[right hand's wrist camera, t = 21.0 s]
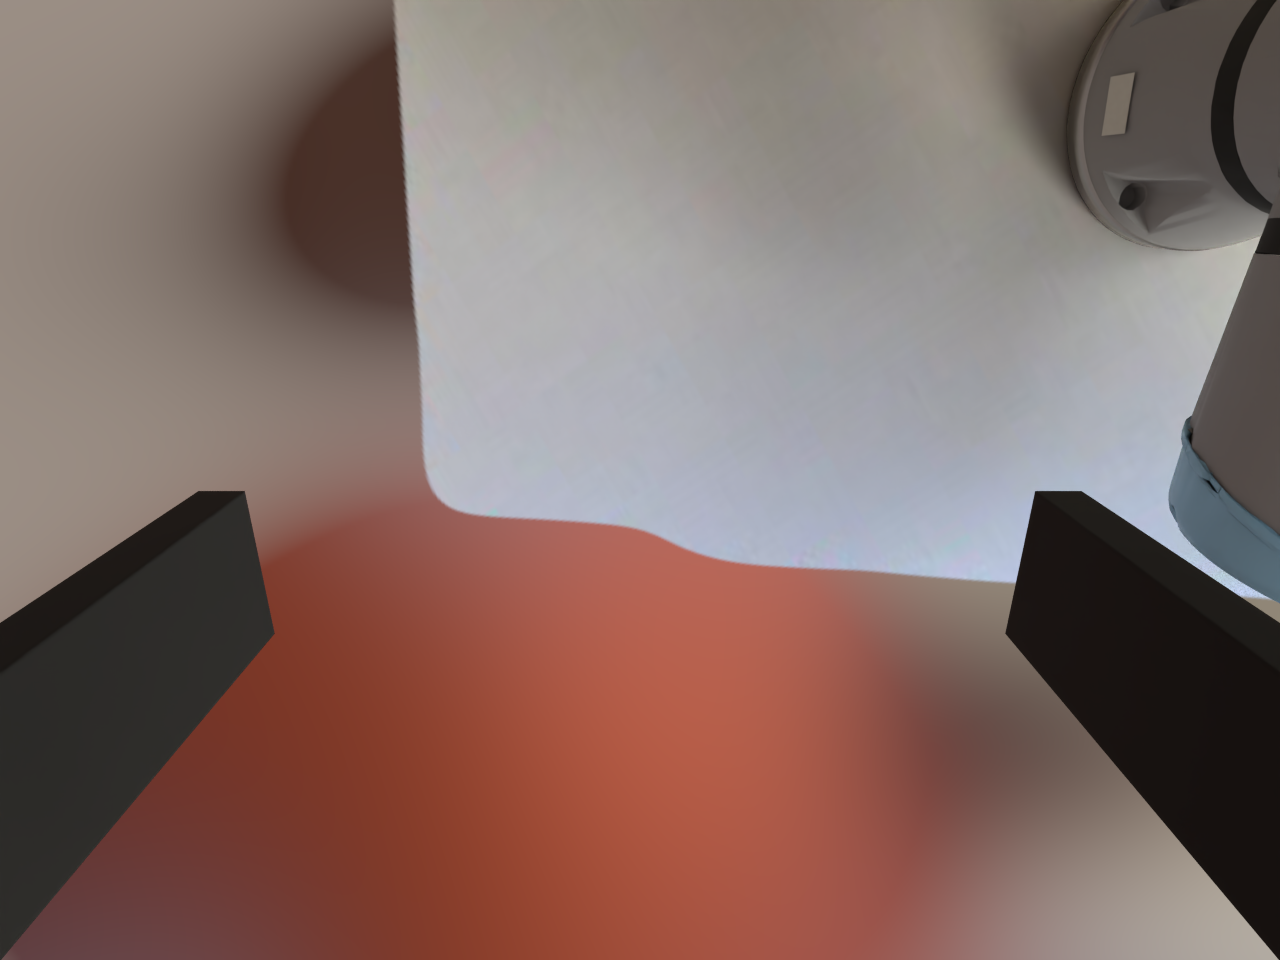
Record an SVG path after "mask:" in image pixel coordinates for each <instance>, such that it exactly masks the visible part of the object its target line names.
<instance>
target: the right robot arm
mask: <svg viewBox="0 0 1280 960" xmlns="http://www.w3.org/2000/svg"><path fill="white" fill-rule="evenodd" d="M1067 147H1068V156H1069V163H1070V167H1071V171H1072V175H1073V178H1074V181H1075V184H1076V186H1077V189H1078V191H1079V193H1080V195H1081V197H1082V199H1083V201H1084V202H1085V203H1086V205H1087V206H1088V208H1089V209H1090V211H1091V212H1092V213H1093V214H1094V215H1095V217H1096V218H1097V219H1098V220H1099V221H1100V222H1101V223H1102V224H1104V225H1105V226H1106V227H1107V228H1108V229H1110V230H1111V231H1113V232H1114V233H1116V234H1117V235H1119V236H1121V237H1123V238H1125V239H1127V240H1129V241H1132V242H1134V243H1137V244H1140V245H1144V246H1148V247H1153V248H1161V249H1170V250H1183V251H1197V250H1208V249H1214V248H1220V247H1224V246H1229V245H1233V244H1237V243H1241V242H1244V241H1247V240H1250V239H1253V238H1256V237H1259V236H1261V238H1260V241H1259V244H1258V246H1257V249H1256V251H1255V253H1254V255H1253V258H1252V260H1251V263H1250V265H1249V268H1248V271H1247V273H1246V276H1245V278H1244V281H1243V284H1242V286H1241V289H1240V291H1239V294H1238V297H1237V299H1236V302H1235V305H1234V307H1233V310H1232V312H1231V315H1230V318H1229V320H1228V323H1227V325H1226V328H1225V331H1224V333H1223V336H1222V338H1221V341H1220V344H1219V346H1218V349H1217V352H1216V354H1215V357H1214V359H1213V362H1212V365H1211V367H1210V370H1209V372H1208V375H1207V378H1206V380H1205V383H1204V385H1203V388H1202V391H1201V393H1200V396H1199V399H1198V401H1197V404H1196V406H1195V409H1194V412H1193V414H1192V416H1190V417H1189V418H1188V419H1186V421H1185V424H1184V426H1183V429H1182V436H1181V440H1182V445H1183V447H1182V450H1181V453H1180V456H1179V459H1178V463H1177V466H1176V469H1175V472H1174V476H1173V479H1172V482H1171V485H1170V489H1169V507H1170V511H1171V513H1172V515H1173V517H1174V519H1175V520H1176V522H1177V523H1178V527H1179V529H1180V531H1181V532H1182V534H1183V535H1184V536H1185V537H1186V539H1187V540H1188V541H1189V542H1190V543H1191V544H1192V545H1193V546H1194V547H1195V548H1196V549H1197V550H1198V551H1199V552H1200V553H1202V554H1203V555H1204V556H1205V557H1206V558H1207V559H1209V560H1210V561H1211V562H1212V563H1214V564H1215V565H1216V566H1218V567H1219V568H1221V569H1222V570H1223V571H1225V572H1226V573H1228V574H1229V575H1231V576H1232V577H1234V578H1236V579H1237V580H1239V581H1240V582H1242V583H1244V584H1245V585H1247V586H1249V587H1251V588H1252V589H1254V590H1256V591H1258V592H1259V593H1261V594H1263V595H1265V596H1267V597H1269V598H1271V599H1273V600H1274V601H1276V602H1278V603H1280V256H1279V255H1280V0H1124V1H1123V2H1122V3H1121V4H1120V5H1119V6H1118V7H1117V8H1116V10H1115V11H1114V12H1113V13H1112V15H1111V16H1110V17H1109V18H1108V20H1107V21H1106V23H1105V24H1104V26H1103V27H1102V29H1101V30H1100V31H1099V33H1098V35H1097V36H1096V38H1095V40H1094V42H1093V43H1092V45H1091V47H1090V49H1089V51H1088V53H1087V55H1086V57H1085V59H1084V61H1083V64H1082V66H1081V69H1080V71H1079V74H1078V76H1077V80H1076V83H1075V86H1074V89H1073V93H1072V98H1071V102H1070V107H1069V114H1068V122H1067ZM1268 254H1271V255H1268ZM273 635H274V629H273V624H272V619H271V615H270V609H269V605H268V600H267V595H266V591H265V586H264V581H263V576H262V572H261V567H260V562H259V557H258V553H257V548H256V543H255V538H254V533H253V529H252V524H251V519H250V514H249V510H248V505H247V500H246V495H245V491H198V492H197V493H195V494H194V495H192V496H191V497H189V498H188V499H186V500H185V501H183V502H182V503H180V504H179V505H177V506H176V507H174V508H172V509H171V510H169V511H168V512H166V513H165V514H163V515H162V516H161V517H159V518H157V519H156V520H154V521H153V522H151V523H150V524H148V525H147V526H146V527H144V528H142V529H141V530H139V531H138V532H136V533H135V534H133V535H132V536H130V537H129V538H127V539H126V540H124V541H123V542H121V543H120V544H118V545H117V546H115V547H114V548H112V549H111V550H109V551H108V552H106V553H105V554H103V555H102V556H100V557H99V558H97V559H96V560H94V561H93V562H91V563H90V564H88V565H87V566H85V567H84V568H82V569H81V570H79V571H78V572H76V573H75V574H73V575H72V576H70V577H69V578H67V579H66V580H64V581H63V582H61V583H60V584H58V585H57V586H55V587H54V588H52V589H51V590H49V591H48V592H46V593H45V594H43V595H42V596H40V597H39V598H37V599H36V600H34V601H33V602H31V603H30V604H28V605H27V606H25V607H24V608H22V609H21V610H19V611H18V612H16V613H15V614H13V615H12V616H10V617H8V618H7V619H5V620H4V621H3V622H1V623H0V960H1V959H2V958H3V957H4V956H5V954H6V953H7V952H8V951H9V950H10V948H11V947H12V946H13V945H14V944H15V943H16V941H17V940H18V939H19V938H20V937H21V935H22V934H23V933H24V932H25V931H26V929H27V928H28V927H29V926H30V925H31V923H32V922H33V921H34V920H35V919H36V917H37V916H38V915H39V914H40V913H41V911H42V910H43V909H44V908H45V907H46V906H47V904H48V903H49V902H50V901H51V900H52V898H53V897H54V896H55V895H56V894H57V892H58V891H59V890H60V889H61V888H62V886H63V885H64V884H65V883H66V882H67V880H68V879H69V878H70V877H71V876H72V874H73V873H74V872H75V871H76V870H77V869H78V867H79V866H80V865H81V864H82V863H83V861H84V860H85V859H86V858H87V857H88V855H89V854H90V853H91V852H92V851H93V849H94V848H95V847H96V846H97V845H98V844H99V842H100V841H101V840H102V839H103V837H104V836H105V835H106V834H107V833H108V832H109V830H110V829H111V828H112V827H113V826H114V824H115V823H116V822H117V821H118V820H119V818H120V817H121V816H122V815H123V814H124V812H125V811H126V810H127V809H128V808H129V807H130V805H131V804H132V803H133V802H134V801H135V799H136V798H137V797H138V796H139V795H140V793H141V792H142V791H143V790H144V789H145V787H146V786H147V785H148V784H149V783H150V782H151V780H152V779H153V778H154V777H155V776H156V774H157V773H158V772H159V771H160V770H161V768H162V767H163V766H164V765H165V764H166V762H167V761H168V760H169V759H170V758H171V756H172V755H173V754H174V753H175V752H176V751H177V749H178V748H179V747H180V746H181V745H182V743H183V742H184V741H185V740H186V738H187V737H188V736H189V735H190V734H191V733H192V731H193V730H194V729H195V728H196V727H197V725H198V724H199V723H200V722H201V721H202V719H203V718H204V717H205V716H206V715H207V714H208V712H209V711H210V710H211V709H212V707H213V706H214V705H215V704H216V703H217V702H218V700H219V699H220V698H221V697H222V696H223V694H224V693H225V692H226V691H227V690H228V689H229V687H230V686H231V685H232V684H233V683H234V681H235V680H236V679H237V678H238V677H239V675H240V674H241V673H242V672H243V671H244V669H245V668H246V667H247V666H248V665H249V663H250V662H251V661H252V660H253V659H254V657H255V656H256V655H257V654H258V653H259V652H260V650H261V649H262V648H263V647H264V646H265V644H266V643H267V642H268V641H269V640H270V638H271V637H272V636H273ZM1006 635H1007V636H1008V637H1009V638H1010V640H1011V641H1012V642H1013V643H1014V644H1015V645H1016V647H1017V648H1018V649H1019V650H1020V652H1021V653H1022V654H1023V655H1024V656H1025V657H1026V659H1027V660H1028V661H1029V662H1030V663H1031V665H1032V666H1033V667H1034V668H1035V669H1036V671H1037V672H1038V673H1039V674H1040V675H1041V677H1042V678H1043V679H1044V680H1045V681H1046V683H1047V684H1048V685H1049V686H1050V687H1051V688H1052V690H1053V691H1054V692H1055V693H1056V694H1057V696H1058V697H1059V698H1060V699H1061V700H1062V702H1063V703H1064V704H1065V705H1066V706H1067V708H1068V709H1069V710H1070V711H1071V712H1072V714H1073V715H1074V716H1075V717H1076V718H1077V719H1078V721H1079V722H1080V723H1081V724H1082V725H1083V727H1084V728H1085V729H1086V730H1087V731H1088V733H1089V734H1090V735H1091V736H1092V737H1093V739H1094V740H1095V741H1096V742H1097V743H1098V745H1099V746H1100V747H1101V748H1102V749H1103V751H1104V752H1105V753H1106V754H1107V755H1108V756H1109V758H1110V759H1111V760H1112V761H1113V762H1114V764H1115V765H1116V766H1117V767H1118V768H1119V770H1120V771H1121V772H1122V773H1123V774H1124V776H1125V777H1126V778H1127V779H1128V780H1129V781H1130V783H1131V784H1132V785H1133V786H1134V787H1135V789H1136V790H1137V791H1138V792H1139V793H1140V795H1141V796H1142V797H1143V798H1144V799H1145V801H1146V802H1147V803H1148V804H1149V805H1150V807H1151V808H1152V809H1153V810H1154V811H1155V812H1156V814H1157V815H1158V816H1159V817H1160V818H1161V820H1162V821H1163V822H1164V823H1165V824H1166V826H1167V827H1168V828H1169V829H1170V830H1171V832H1172V833H1173V834H1174V835H1175V836H1176V838H1177V839H1178V840H1179V841H1180V842H1181V844H1182V845H1183V846H1184V847H1185V848H1186V849H1187V851H1188V852H1189V853H1190V854H1191V855H1192V857H1193V858H1194V859H1195V860H1196V861H1197V862H1198V864H1199V865H1200V866H1201V867H1202V868H1203V870H1204V871H1205V872H1206V873H1207V874H1208V876H1209V877H1210V878H1211V879H1212V880H1213V882H1214V883H1215V884H1216V885H1217V886H1218V888H1219V889H1220V890H1221V891H1222V892H1223V894H1224V895H1225V896H1226V897H1227V898H1228V900H1229V901H1230V902H1231V903H1232V904H1233V905H1234V907H1235V908H1236V909H1237V910H1238V911H1239V913H1240V914H1241V915H1242V916H1243V917H1244V919H1245V920H1246V921H1247V922H1248V923H1249V925H1250V926H1251V927H1252V928H1253V929H1254V931H1255V932H1256V933H1257V934H1258V935H1259V937H1260V938H1261V939H1262V940H1263V941H1264V942H1265V944H1266V945H1267V946H1268V947H1269V948H1270V950H1271V951H1272V952H1273V953H1274V954H1275V956H1276V957H1277V958H1278V959H1279V960H1280V623H1279V622H1278V621H1276V620H1275V619H1273V618H1272V617H1270V616H1268V615H1267V614H1265V613H1264V612H1262V611H1261V610H1259V609H1258V608H1256V607H1255V606H1253V605H1252V604H1250V603H1249V602H1247V601H1246V600H1244V599H1243V598H1241V597H1240V596H1238V595H1237V594H1235V593H1234V592H1232V591H1231V590H1229V589H1228V588H1226V587H1225V586H1223V585H1222V584H1220V583H1219V582H1217V581H1216V580H1214V579H1213V578H1211V577H1210V576H1208V575H1207V574H1205V573H1204V572H1202V571H1201V570H1199V569H1198V568H1196V567H1195V566H1193V565H1192V564H1190V563H1189V562H1187V561H1186V560H1184V559H1183V558H1181V557H1180V556H1178V555H1177V554H1175V553H1174V552H1172V551H1171V550H1169V549H1168V548H1166V547H1165V546H1163V545H1162V544H1160V543H1159V542H1157V541H1156V540H1154V539H1153V538H1151V537H1150V536H1148V535H1147V534H1145V533H1144V532H1142V531H1141V530H1139V529H1138V528H1136V527H1135V526H1133V525H1132V524H1130V523H1129V522H1127V521H1126V520H1124V519H1123V518H1121V517H1120V516H1118V515H1117V514H1115V513H1114V512H1112V511H1111V510H1109V509H1108V508H1106V507H1104V506H1103V505H1101V504H1100V503H1098V502H1097V501H1095V500H1094V499H1092V498H1091V497H1089V496H1088V495H1086V494H1085V493H1083V492H1082V491H1035V495H1034V500H1033V505H1032V509H1031V514H1030V519H1029V524H1028V528H1027V533H1026V538H1025V543H1024V548H1023V552H1022V557H1021V562H1020V567H1019V571H1018V576H1017V581H1016V586H1015V591H1014V595H1013V600H1012V605H1011V610H1010V614H1009V619H1008V624H1007V629H1006Z"/></svg>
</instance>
